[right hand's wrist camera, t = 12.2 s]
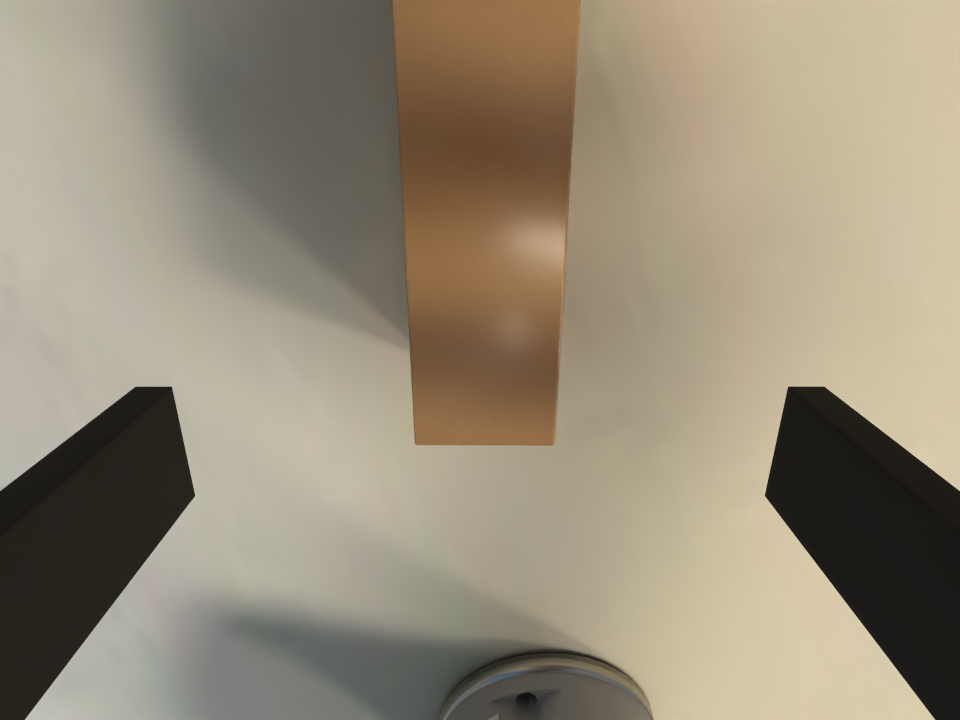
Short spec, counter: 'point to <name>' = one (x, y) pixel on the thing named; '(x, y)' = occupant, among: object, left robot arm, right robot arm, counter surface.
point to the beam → (485, 211)
